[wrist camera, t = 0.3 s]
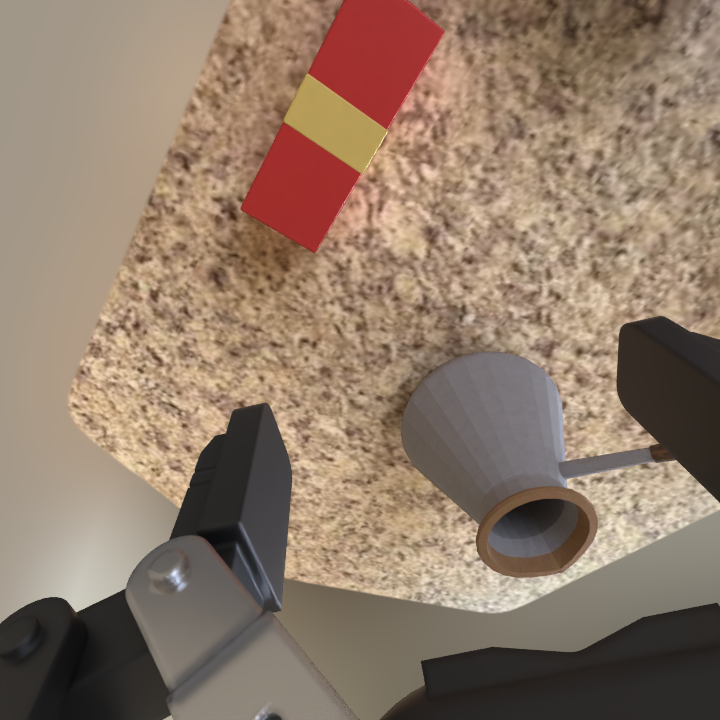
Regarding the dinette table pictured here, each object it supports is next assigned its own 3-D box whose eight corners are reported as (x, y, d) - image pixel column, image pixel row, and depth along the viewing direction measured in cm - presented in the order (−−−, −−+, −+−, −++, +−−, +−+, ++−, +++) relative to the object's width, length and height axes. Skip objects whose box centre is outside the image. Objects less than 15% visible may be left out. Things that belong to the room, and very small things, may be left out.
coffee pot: (442, 484, 40) (501, 671, 26) (366, 390, 35) (392, 560, 21) (689, 350, 35) (911, 493, 22) (641, 220, 30) (888, 303, 17)
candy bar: (356, -16, 24) (361, -39, 20) (429, 43, 25) (447, 31, 21) (249, 197, 28) (238, 209, 24) (316, 237, 29) (315, 254, 26)
